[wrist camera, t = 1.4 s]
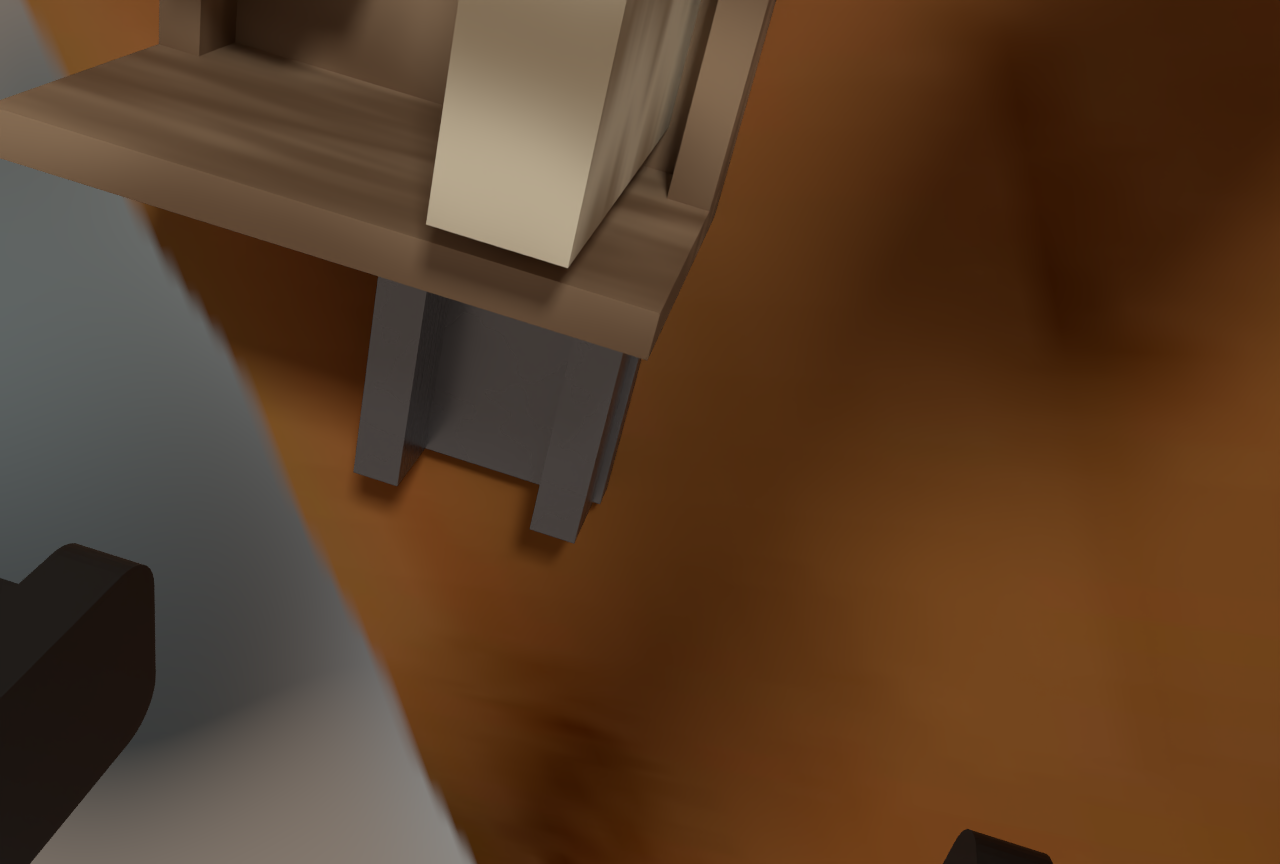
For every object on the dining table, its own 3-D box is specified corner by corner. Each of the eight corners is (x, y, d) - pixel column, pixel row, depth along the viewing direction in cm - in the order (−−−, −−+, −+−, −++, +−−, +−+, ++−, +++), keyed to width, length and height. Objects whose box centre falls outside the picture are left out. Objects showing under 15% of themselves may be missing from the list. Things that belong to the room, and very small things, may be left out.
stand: (422, 176, 36) (377, 212, 33) (669, 252, 35) (647, 295, 32) (388, 418, 41) (346, 469, 38) (606, 488, 40) (581, 545, 37)
